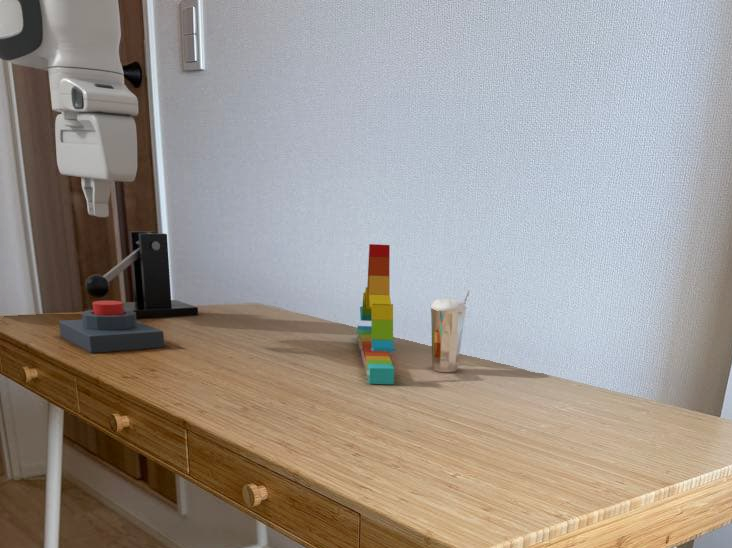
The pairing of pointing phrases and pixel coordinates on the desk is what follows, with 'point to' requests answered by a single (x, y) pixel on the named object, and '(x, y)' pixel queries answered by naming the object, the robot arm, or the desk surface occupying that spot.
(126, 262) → the tap lever
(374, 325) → the chart
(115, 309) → the button
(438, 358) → the milkshake
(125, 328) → the button block
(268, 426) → the desk surface
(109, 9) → the robot arm
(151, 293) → the black lever stand
